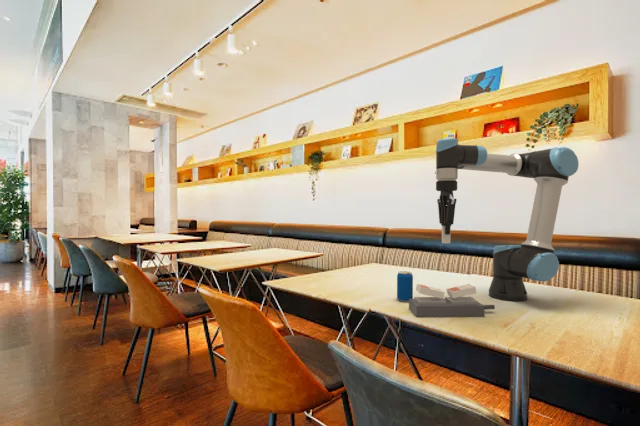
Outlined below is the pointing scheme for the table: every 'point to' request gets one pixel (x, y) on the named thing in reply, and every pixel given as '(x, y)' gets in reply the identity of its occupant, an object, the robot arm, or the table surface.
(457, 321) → the table surface
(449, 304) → the power strip
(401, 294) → the beverage can
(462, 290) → the rocker
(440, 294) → the rocker
